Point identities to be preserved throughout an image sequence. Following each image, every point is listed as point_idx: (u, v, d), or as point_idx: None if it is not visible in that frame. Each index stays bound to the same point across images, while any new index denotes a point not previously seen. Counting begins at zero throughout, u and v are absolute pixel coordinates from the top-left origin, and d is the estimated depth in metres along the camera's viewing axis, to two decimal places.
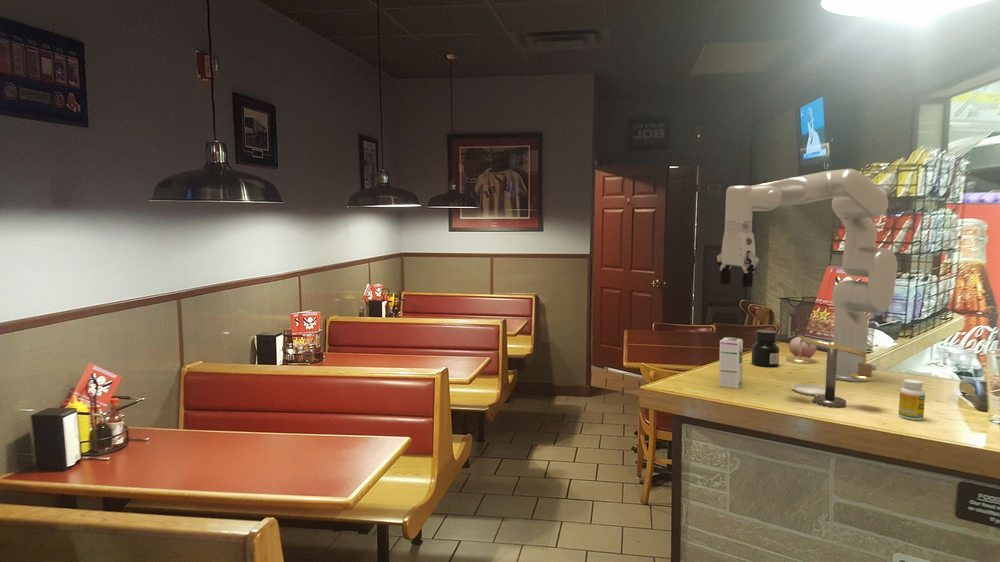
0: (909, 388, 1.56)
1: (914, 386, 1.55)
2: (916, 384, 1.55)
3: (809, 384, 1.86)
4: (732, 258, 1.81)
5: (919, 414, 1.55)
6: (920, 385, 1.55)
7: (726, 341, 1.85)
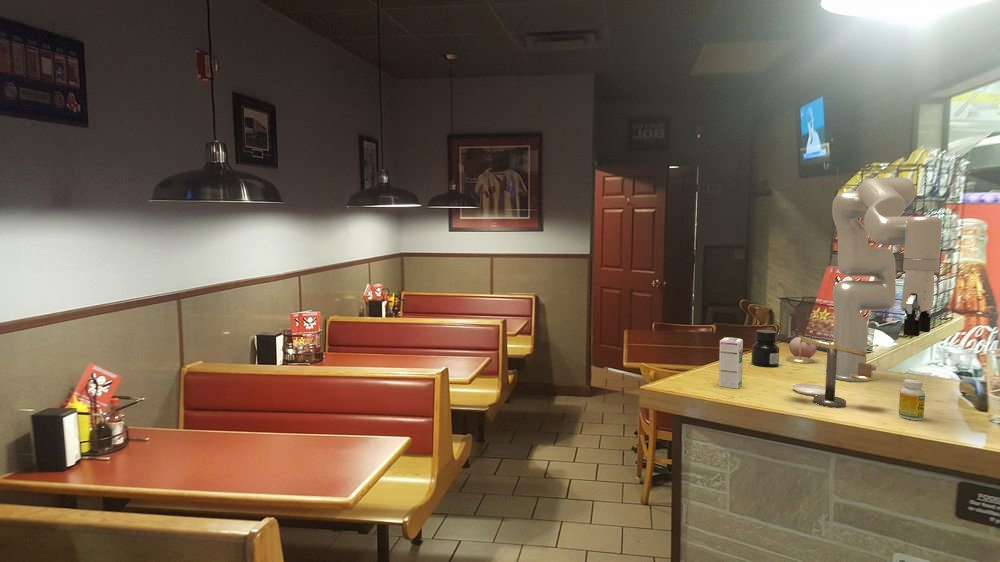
0: (909, 388, 1.56)
1: (914, 386, 1.55)
2: (916, 384, 1.55)
3: (809, 384, 1.86)
4: (930, 302, 1.54)
5: (919, 414, 1.55)
6: (920, 385, 1.55)
7: (726, 341, 1.85)
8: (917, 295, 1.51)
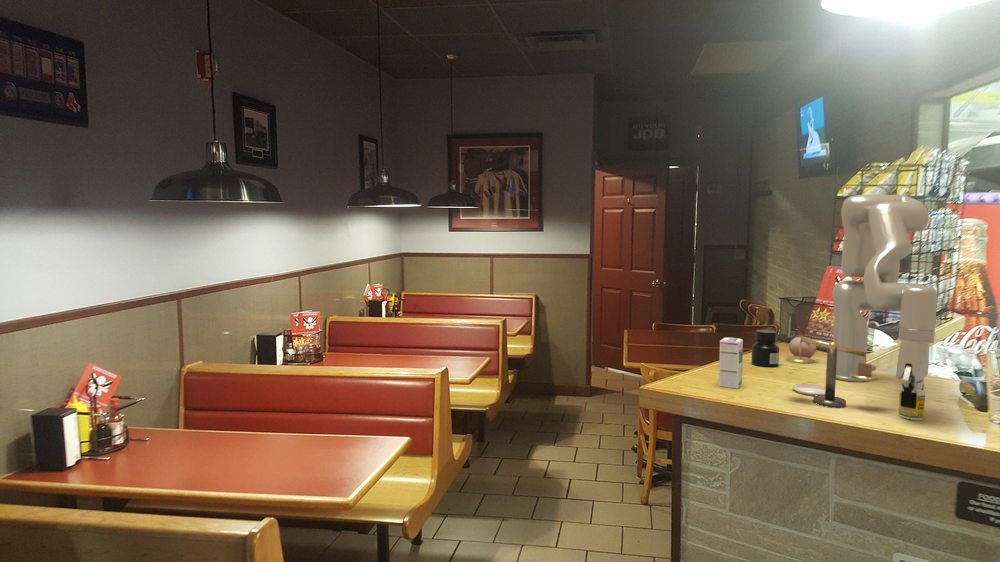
0: None
1: None
2: None
3: (809, 384, 1.86)
4: (925, 371, 1.55)
5: (919, 414, 1.55)
6: (920, 385, 1.55)
7: (726, 341, 1.85)
8: (912, 365, 1.52)
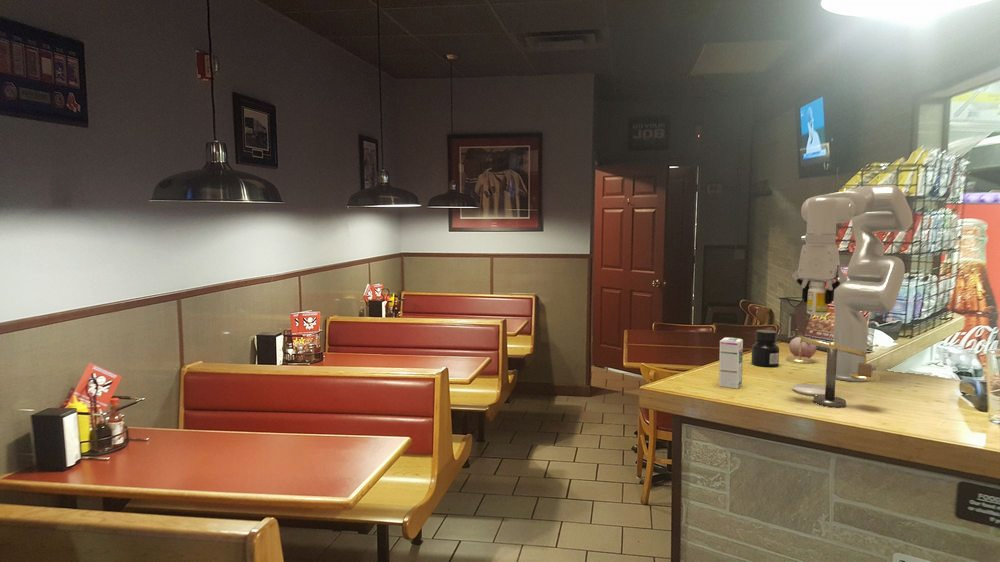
0: (824, 287, 1.78)
1: None
2: None
3: (809, 384, 1.86)
4: None
5: None
6: None
7: (726, 341, 1.85)
8: (838, 265, 1.75)
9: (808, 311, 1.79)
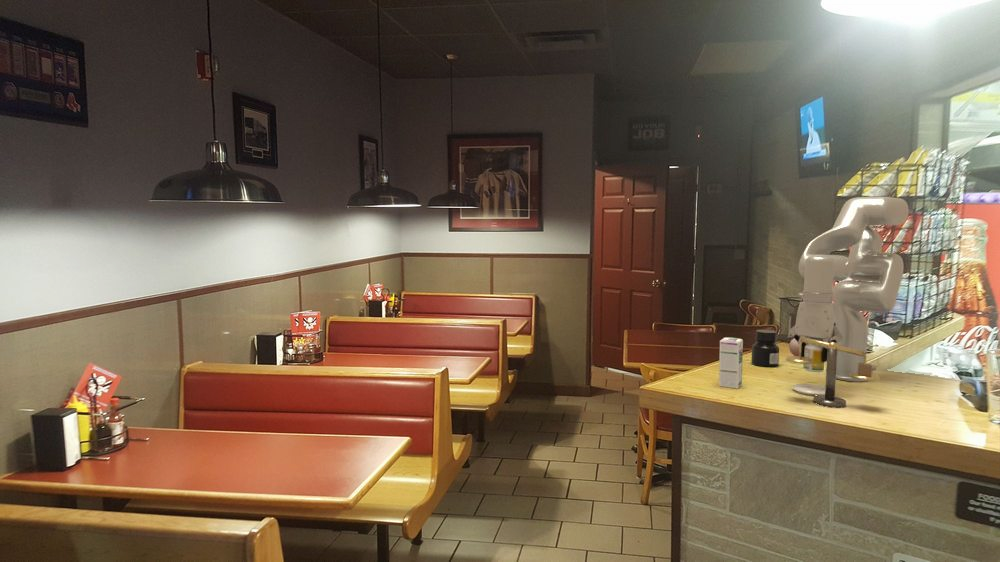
0: None
1: (822, 341, 1.80)
2: None
3: (809, 384, 1.86)
4: None
5: None
6: None
7: (726, 341, 1.85)
8: (835, 324, 1.77)
9: (805, 368, 1.81)
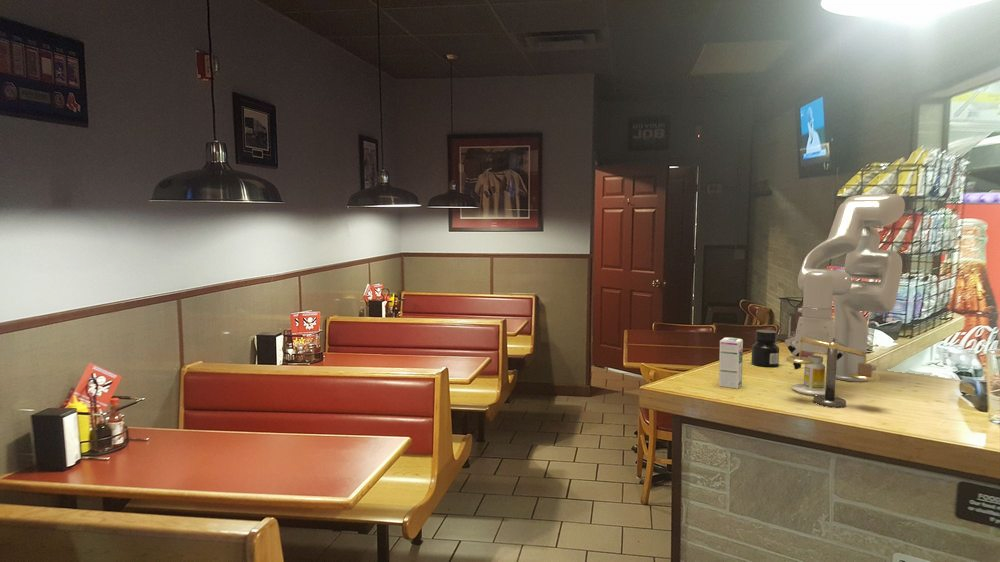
0: (820, 363, 1.80)
1: None
2: None
3: None
4: None
5: None
6: None
7: (726, 341, 1.85)
8: (834, 339, 1.77)
9: (805, 386, 1.81)
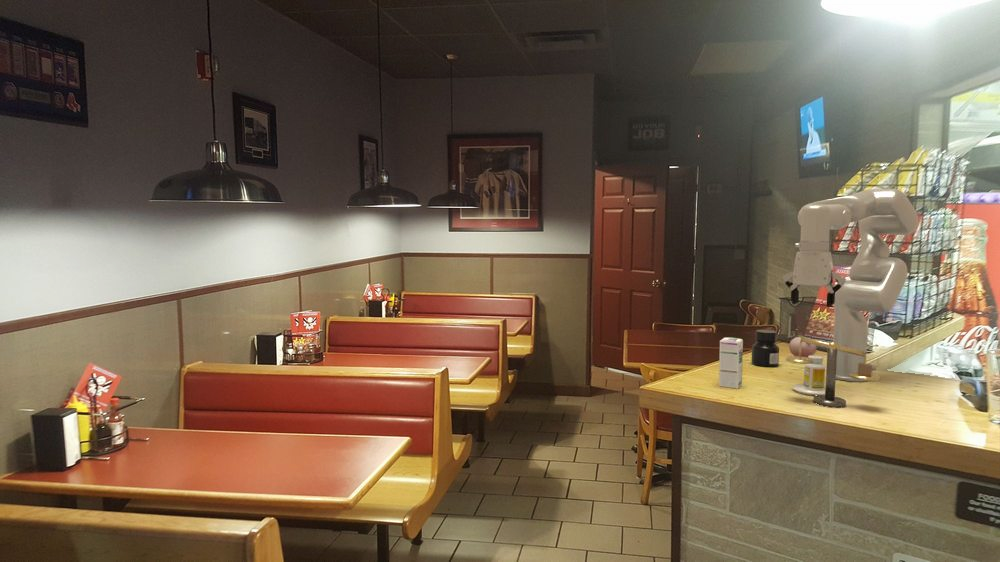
0: (820, 363, 1.80)
1: None
2: None
3: None
4: None
5: None
6: None
7: (726, 341, 1.85)
8: (832, 271, 1.79)
9: (805, 386, 1.81)
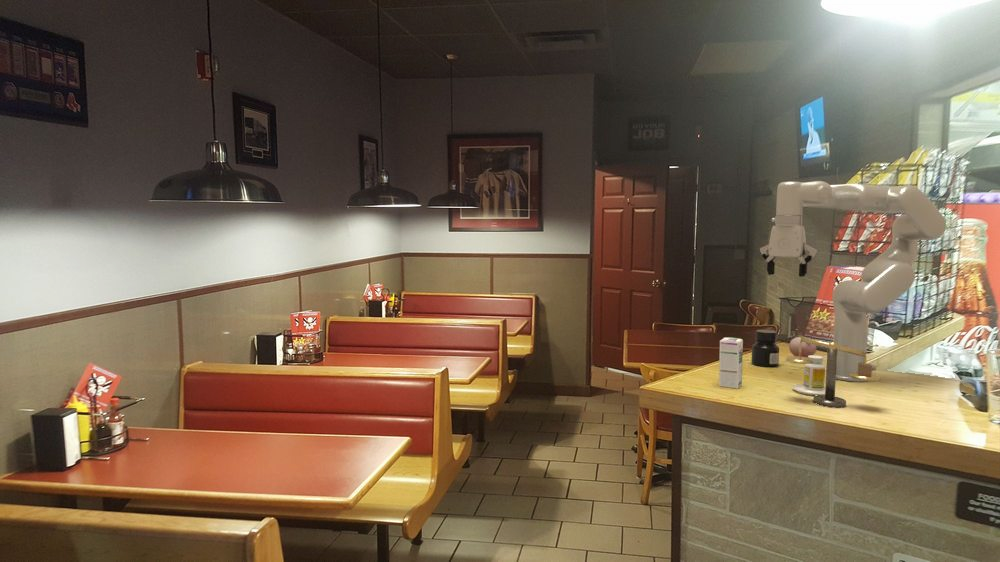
0: (820, 363, 1.80)
1: None
2: None
3: None
4: None
5: None
6: None
7: (726, 341, 1.85)
8: (805, 244, 1.91)
9: (805, 386, 1.81)
